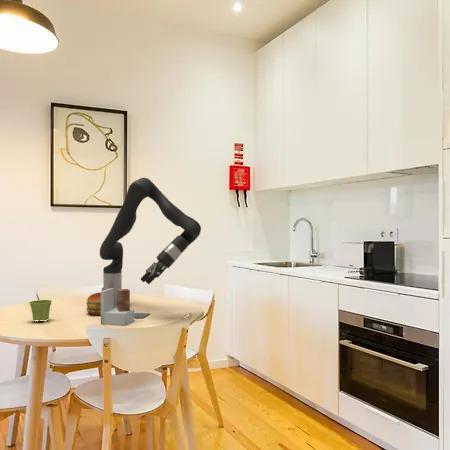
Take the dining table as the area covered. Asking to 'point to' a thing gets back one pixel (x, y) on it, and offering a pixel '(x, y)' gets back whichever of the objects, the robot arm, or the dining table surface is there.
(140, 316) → the mat
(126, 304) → the walnut block
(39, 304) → the plant pot
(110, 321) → the ledge
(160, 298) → the dining table surface
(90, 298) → the burger
